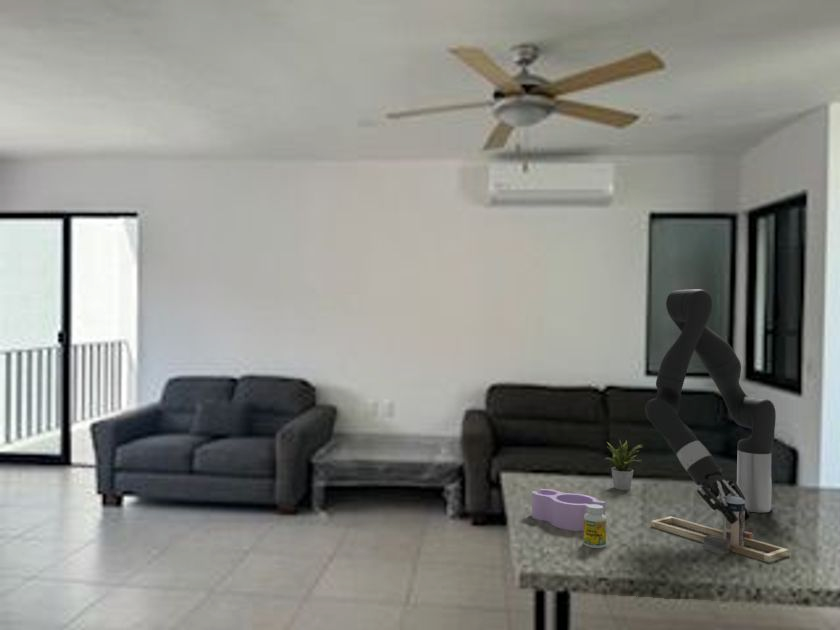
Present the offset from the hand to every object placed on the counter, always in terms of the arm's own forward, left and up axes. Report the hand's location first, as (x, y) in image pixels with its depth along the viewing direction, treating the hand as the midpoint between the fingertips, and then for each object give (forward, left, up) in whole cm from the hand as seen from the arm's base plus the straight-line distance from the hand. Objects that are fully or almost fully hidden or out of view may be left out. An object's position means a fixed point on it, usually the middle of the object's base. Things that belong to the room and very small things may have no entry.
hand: (741, 520), depth 169 cm
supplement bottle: (+30, -20, -7) cm, 37 cm away
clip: (+21, -38, -7) cm, 44 cm away
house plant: (-24, -54, -7) cm, 60 cm away
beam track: (+2, -7, -7) cm, 10 cm away
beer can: (0, -2, -7) cm, 7 cm away
